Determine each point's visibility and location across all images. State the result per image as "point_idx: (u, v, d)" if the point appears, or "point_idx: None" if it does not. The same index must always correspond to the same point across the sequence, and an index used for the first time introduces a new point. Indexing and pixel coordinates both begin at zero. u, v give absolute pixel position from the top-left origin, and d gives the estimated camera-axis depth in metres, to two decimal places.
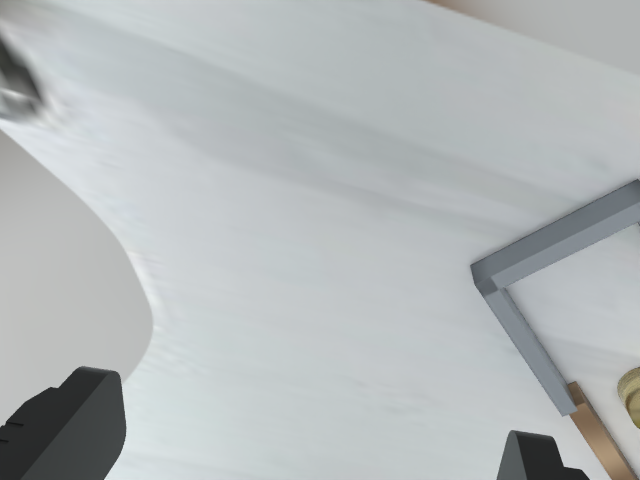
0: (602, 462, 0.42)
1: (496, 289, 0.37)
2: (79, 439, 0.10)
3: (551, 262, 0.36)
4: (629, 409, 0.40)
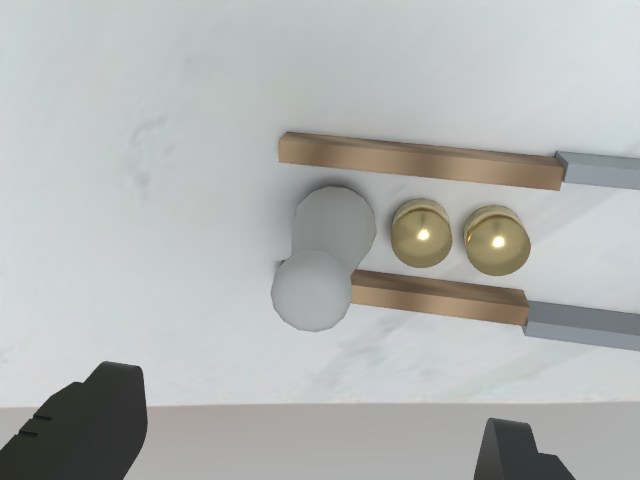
0: (465, 160, 0.34)
1: None
2: (105, 432, 0.10)
3: None
4: (517, 223, 0.35)
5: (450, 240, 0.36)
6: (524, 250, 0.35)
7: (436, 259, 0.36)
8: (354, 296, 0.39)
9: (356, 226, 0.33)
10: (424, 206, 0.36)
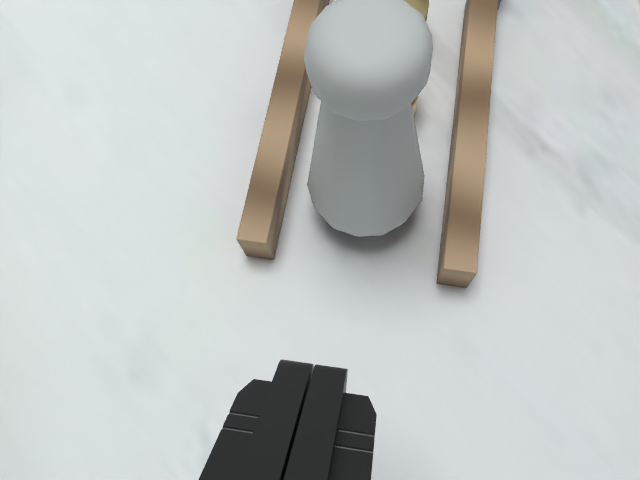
0: (286, 41, 0.30)
1: None
2: None
3: None
4: None
5: None
6: None
7: None
8: (472, 159, 0.27)
9: None
10: None
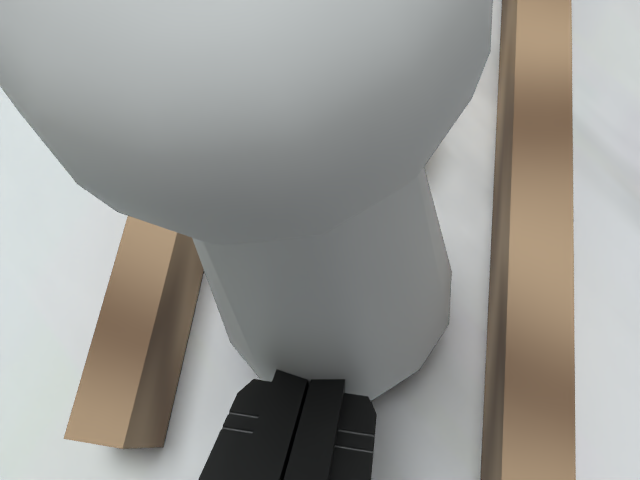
0: None
1: None
2: None
3: None
4: None
5: None
6: None
7: None
8: (546, 254, 0.13)
9: None
10: None
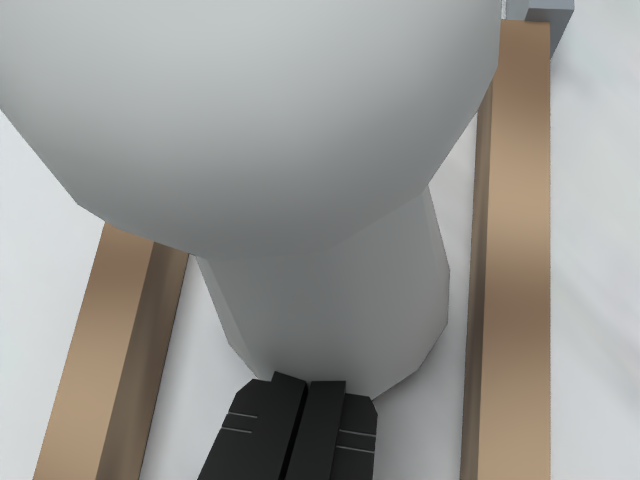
0: None
1: None
2: (298, 427, 0.10)
3: None
4: None
5: None
6: None
7: None
8: None
9: None
10: None
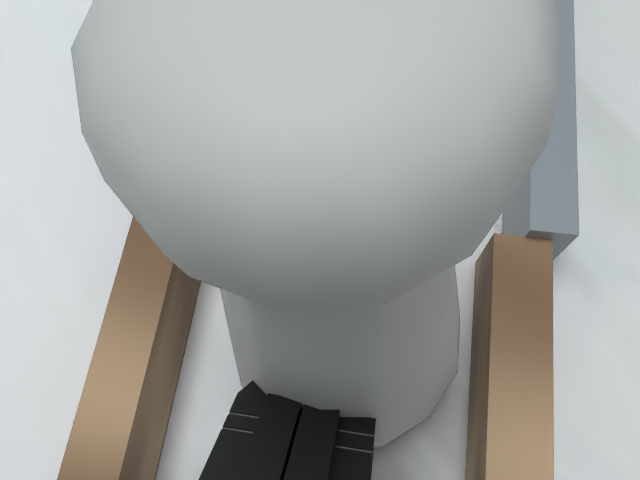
0: (81, 411, 0.13)
1: None
2: None
3: None
4: None
5: None
6: None
7: None
8: None
9: None
10: None
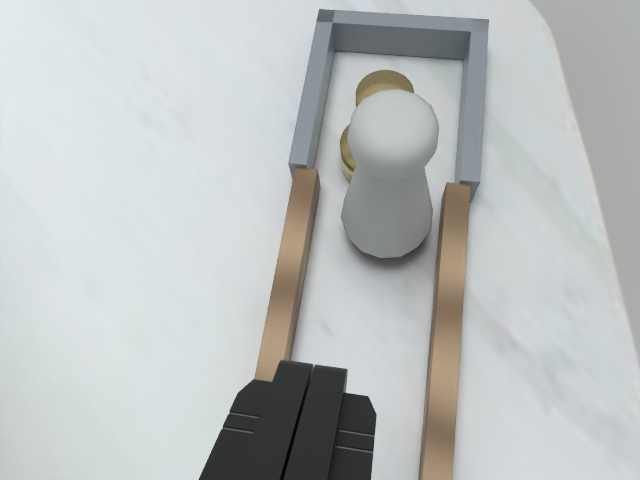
0: (281, 250, 0.34)
1: (331, 21, 0.40)
2: None
3: (385, 24, 0.39)
4: None
5: None
6: (393, 75, 0.38)
7: None
8: (447, 374, 0.30)
9: None
10: (341, 159, 0.37)
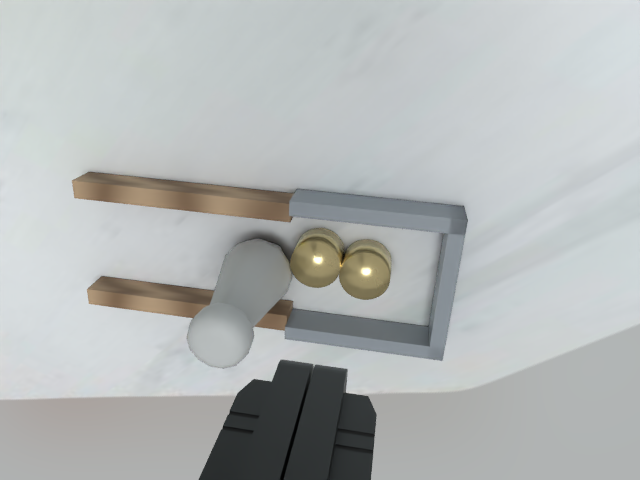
0: (215, 197, 0.42)
1: (450, 232, 0.39)
2: None
3: (442, 280, 0.41)
4: (384, 261, 0.42)
5: (336, 257, 0.42)
6: (384, 284, 0.42)
7: (333, 275, 0.43)
8: (150, 306, 0.47)
9: (268, 277, 0.40)
10: (309, 236, 0.43)
